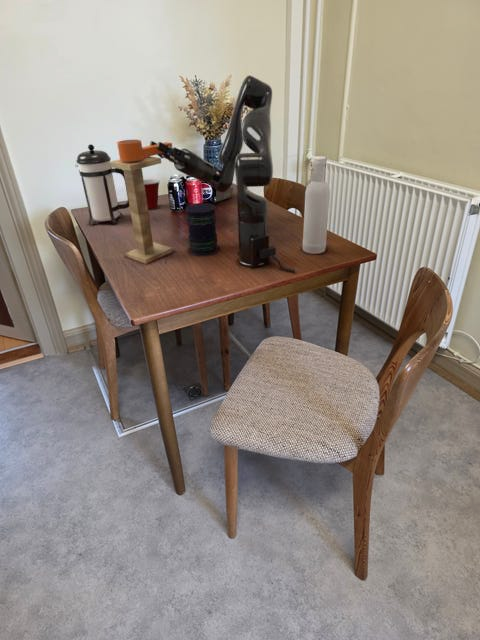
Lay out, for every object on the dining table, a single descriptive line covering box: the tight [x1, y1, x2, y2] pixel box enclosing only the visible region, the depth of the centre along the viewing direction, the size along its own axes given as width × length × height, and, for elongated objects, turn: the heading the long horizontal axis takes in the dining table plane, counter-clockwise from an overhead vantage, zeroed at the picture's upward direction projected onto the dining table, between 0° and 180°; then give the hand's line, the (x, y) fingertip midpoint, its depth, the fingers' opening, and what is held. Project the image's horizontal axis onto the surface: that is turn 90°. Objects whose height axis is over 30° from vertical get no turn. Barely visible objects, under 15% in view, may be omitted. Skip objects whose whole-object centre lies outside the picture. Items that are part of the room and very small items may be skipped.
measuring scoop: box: [116, 139, 173, 162], centre depth 130 cm, size 19×7×5 cm, turn 141°
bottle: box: [302, 155, 331, 255], centre depth 136 cm, size 8×8×30 cm
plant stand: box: [109, 156, 173, 265], centre depth 136 cm, size 12×10×31 cm
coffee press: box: [74, 144, 130, 226], centre depth 169 cm, size 17×16×30 cm
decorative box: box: [204, 181, 234, 204], centre depth 192 cm, size 13×20×10 cm, turn 134°
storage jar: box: [185, 202, 218, 256], centre depth 143 cm, size 10×10×15 cm
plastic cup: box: [143, 178, 161, 211], centre depth 187 cm, size 11×11×12 cm
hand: (154, 144), depth 132 cm, fingers closed on measuring scoop, 3 cm apart
